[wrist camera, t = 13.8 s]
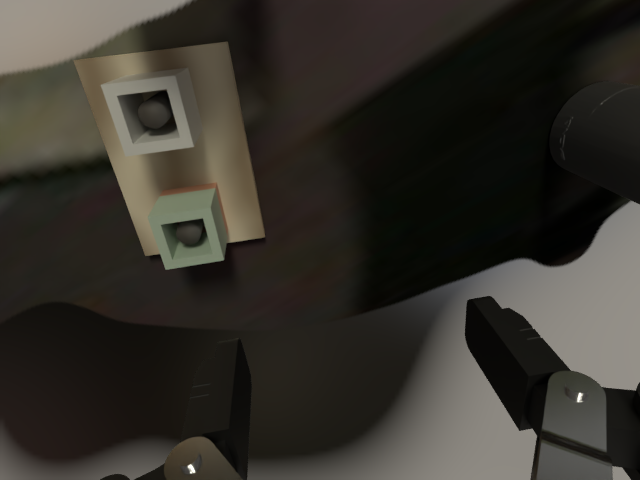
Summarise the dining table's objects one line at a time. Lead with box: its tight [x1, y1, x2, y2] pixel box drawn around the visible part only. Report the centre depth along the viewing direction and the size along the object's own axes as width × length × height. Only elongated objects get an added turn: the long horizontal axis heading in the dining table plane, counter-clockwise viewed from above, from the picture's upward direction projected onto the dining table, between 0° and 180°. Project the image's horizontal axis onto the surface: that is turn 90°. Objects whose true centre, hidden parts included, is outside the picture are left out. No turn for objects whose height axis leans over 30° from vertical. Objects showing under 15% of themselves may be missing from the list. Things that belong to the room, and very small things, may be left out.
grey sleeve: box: [101, 68, 203, 157], centre depth 31 cm, size 5×5×6 cm
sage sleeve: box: [148, 182, 228, 270], centre depth 36 cm, size 5×5×6 cm
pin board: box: [74, 41, 265, 256], centre depth 35 cm, size 12×18×6 cm, turn 6°
